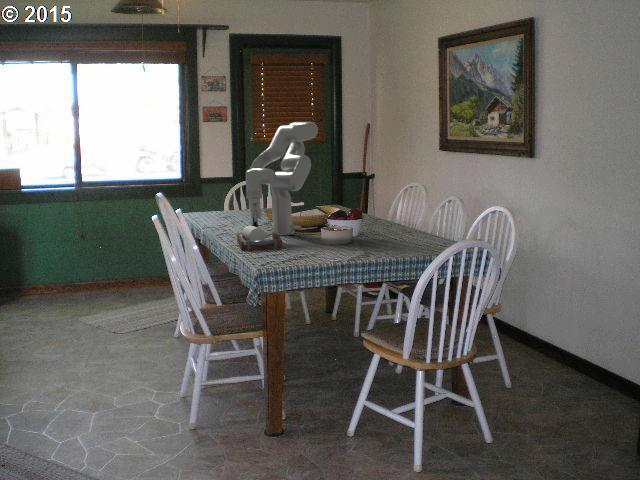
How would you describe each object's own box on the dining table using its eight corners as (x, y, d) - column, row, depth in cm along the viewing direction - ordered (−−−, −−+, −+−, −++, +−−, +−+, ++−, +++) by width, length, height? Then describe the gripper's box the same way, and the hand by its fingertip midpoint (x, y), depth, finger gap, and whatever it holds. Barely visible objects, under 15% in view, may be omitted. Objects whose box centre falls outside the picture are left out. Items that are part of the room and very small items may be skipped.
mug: (249, 245, 359) (249, 228, 357) (241, 242, 367) (241, 226, 366) (273, 243, 364) (273, 226, 363) (265, 240, 373) (264, 224, 372)
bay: (275, 239, 375) (274, 230, 374) (283, 249, 345) (282, 240, 345) (237, 241, 371) (236, 232, 371) (241, 251, 342) (241, 241, 341)
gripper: (263, 196, 365) (264, 234, 368) (260, 193, 380) (261, 230, 383) (247, 196, 364) (248, 235, 367) (245, 194, 379) (246, 231, 382)
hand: (254, 232), depth 375 cm, fingers closed
